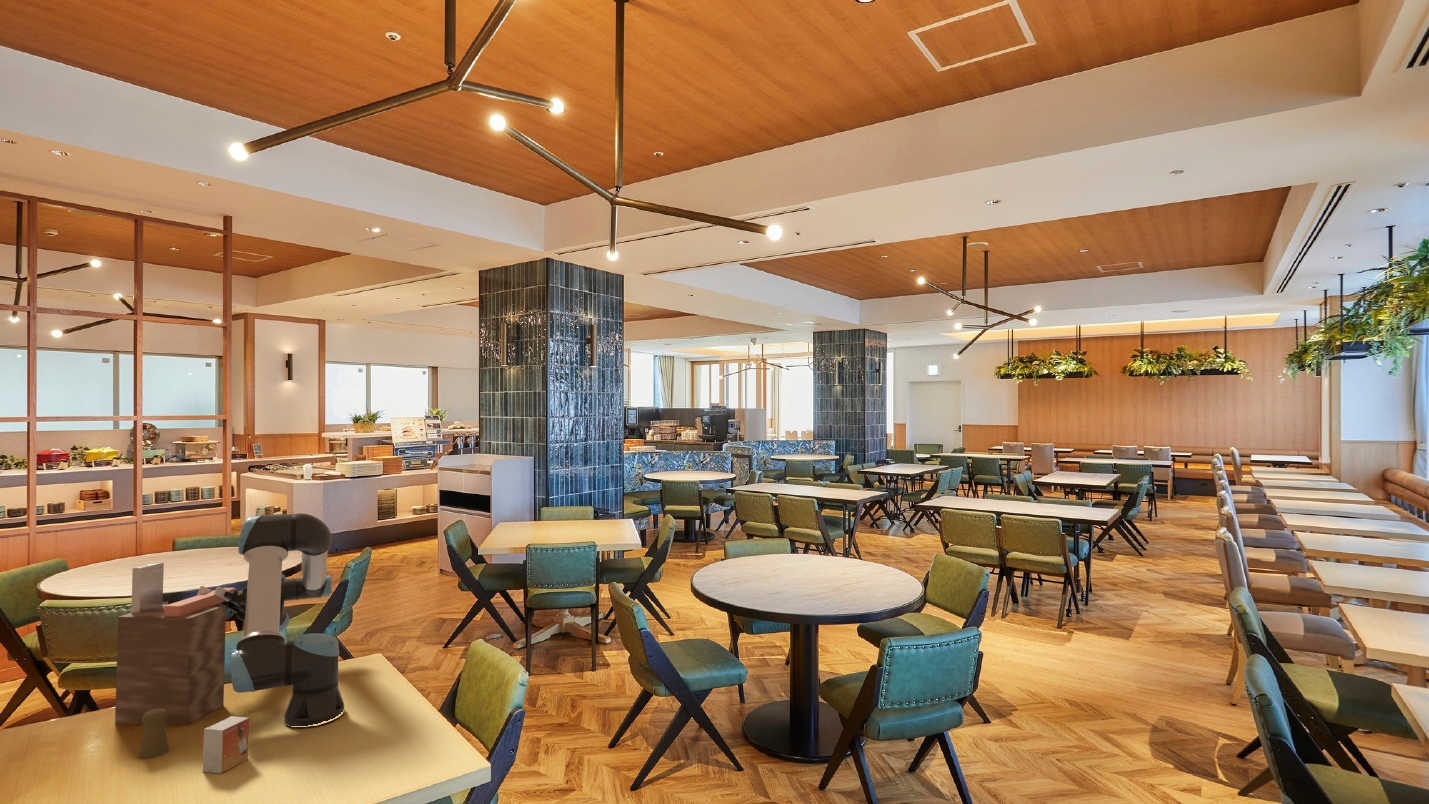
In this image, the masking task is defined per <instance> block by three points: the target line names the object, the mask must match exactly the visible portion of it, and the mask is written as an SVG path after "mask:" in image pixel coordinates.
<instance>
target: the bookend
mask: <svg viewBox="0 0 1429 804" xmlns="http://www.w3.org/2000/svg"><path fill="white" fill-rule="evenodd" d="M164 565H165V562H162V561H161V562H159V561H158V562H151V563H149V564H148V563H147V564H144V565H139V566H135V567H132V577H131V578H132V579H131V582H132V584H131V607H130V609H131V612H130V613H142V612H145V611H148V610H151V609H155V608H158V607H161V606H163V604H164V603H163V602H164V601H163V600H164V569H165V567H164Z"/></svg>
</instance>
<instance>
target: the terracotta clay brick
mask: <svg viewBox="0 0 1429 804" xmlns="http://www.w3.org/2000/svg"><path fill="white" fill-rule="evenodd" d="M223 588H224V589H226V590H228V591H230V592H232V593H234V591H237V588H236V587H223ZM215 590H216V589H214V590H213V589H212V591H210V592H207V593H204V594H201V595H197V594H196V595H194V596H192V597H188V598H185V599H182V600H179V601H176V602H172V603H169V605H166V606H164V616H165V617H180V616H183V615H186V614H189V613H192V612H195V611H198V610H201V609H204V608H207V607H209V606H212V605H215V604H218V603H221V602H224V601H225V600H223V599H221V598H219V597H216V596H214V593H215Z"/></svg>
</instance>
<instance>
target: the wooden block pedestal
mask: <svg viewBox="0 0 1429 804" xmlns="http://www.w3.org/2000/svg"><path fill="white" fill-rule="evenodd" d="M169 604H170V603H169ZM169 604H168V603H163V606H161V607H158V608H155V609H151V610H148V611H145V612H142V613H131V612H129V613H126V614H123V615H120V616H118V618H117V641H116V642H117V643H116V644H117V645H116V646H117V647H116V648H117V650H116V679H115V682H116V683H115V708H114V709H115V710H114V711H115V713H114V714H115V715H114V724H115V725H143V726H145V725H144V724H143V722H142V717H143V715H144V714H145V713H146V712H147V711H149V710H152V709H157V708H163V709H166V710H167V713H168V716H167V719H166V720H165V726H185V727H187V726H188V724H189V725H191V724H192V723H194V722H197V721H198V720H199V719H201V717H202V718H204V717H205V716H208V715H209V714H211V713H213V712H215V711H216V710H215V709H217V710H218V709H220V708H221V707H220V706H222V707H224V706H223V705H224V704H225V703H224V702H225V701H224V699H225V698H224V697H225V693H224V692H225V668H226V666H225V665H226V661H225V660H226V654H225V653H226V621H227V609H226V605H212V606H209V607H207V608H204V609H201V610H198V611H195V612H192V613H189V614H186V615H183V616H180V617H165V616H164V606H166V605H169ZM219 707H220V708H219ZM214 710H215V711H214ZM212 711H213V712H212ZM210 712H211V713H210ZM203 716H204V717H203ZM197 719H198V720H197ZM193 721H194V722H193Z"/></svg>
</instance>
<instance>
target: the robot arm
mask: <svg viewBox="0 0 1429 804" xmlns="http://www.w3.org/2000/svg"><path fill="white" fill-rule="evenodd" d="M239 533H240V534H239V542H238V554H239V555H242V556H243V560H244V561H245V562H246V563H248V574H247V576H248V577H247V587H246V588H247V590H246V594H243V593H240V594H239V591H237V590H236V591H234V593H232V592H230V591H228V590H226V589H224V588H225V587H221V586H220V585H219V586H216V588H215V589H214V590H215V593H214V596H216V597H219V598H221V599H223V600H225V601H224V602H221V603H218V604H215V605H226V610H230V611H232V613H235V616H236V618H237V619H238V620H241V621H243V622H244V629H243V637H242V638H241V639H240V640H238V642H237V643H236V648H234V649H233V650H230V651H229V662H230V675H231V683H232V689H233V691H234V692H236V693H249V692H250V693H251V692H252V693H254V692H257V691H263V690H264V691H265V690H270V689H275V688H282V687H288V686H292V687H291V696H290V698H289V702H288V705H287V707H286V709H285V713H284V718H283V719H284V720H283V721H284V722H285V723H284V722H283V723H284V725H285V724H287V725H289V726H308V725H313V724H318V723H321V722H323V721H328V720H330V719H333V718H335V717H336V716H338V715H339V714H341V712H343V710H344V711H345V703H344V700H343V697H342V694H341V691H340V688H339V656H340V650H339V648H340V647H339V640H338V639H337V637H335V635H334V636H333V635H331V634H325V633H305V634H299V635H297V636H295V637H294V638H293V640H292V642H288V643H287V642H286V638H285V637H284V636H283V634H281V633H280V632H283V631H284V630H285V629H286V628H288V626H289V623H290V619H291V618H290V615H289V614H288V613H287V612H286V611H285V602H288V601H298V600H309V599H321V598H325V597H326V598H327V597H329V596H331V595H332V585H333V581H332V580H333V579H332V576H331V575H327V569H328V554H329V553H328V551H329V550H330V548H331V547H332V543H333V541H332V540H333V538H332V537H333V536H332V533H331V530H330V528H329V527H328V526H327V524H326V523H324V521H323V520H321V519H319V518H318V517H316V516H314V515H312V514H309V513H301V512H299V513H287V514H286V513H285V514H268V515H265V514H260V515H255V516H248V517H247V518H246V519H245V520H244V521H243V523H242V525H241V529H240V532H239ZM292 551H293V552H294V551H300V552H301V577H298V578H297V577H296V578H286V575H285V574H283V561H285V560H286V559H287V558H288V556H289V552H292ZM210 591H213V589H210V588H208V587H205V586H204V585H200V587H199V589H198V592H197V594H196V596H197V595H201V594H204V593H207V592H210Z"/></svg>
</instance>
